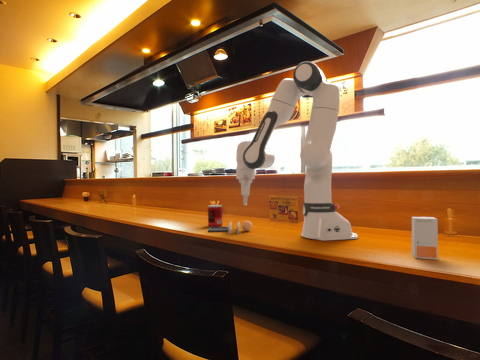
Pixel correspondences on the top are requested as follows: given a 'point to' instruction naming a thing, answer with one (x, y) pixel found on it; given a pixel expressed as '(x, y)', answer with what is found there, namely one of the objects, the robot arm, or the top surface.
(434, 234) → the skincare box
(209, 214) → the canned food
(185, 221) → the top surface
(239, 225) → the walls
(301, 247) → the top surface
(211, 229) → the coaster
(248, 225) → the ball
